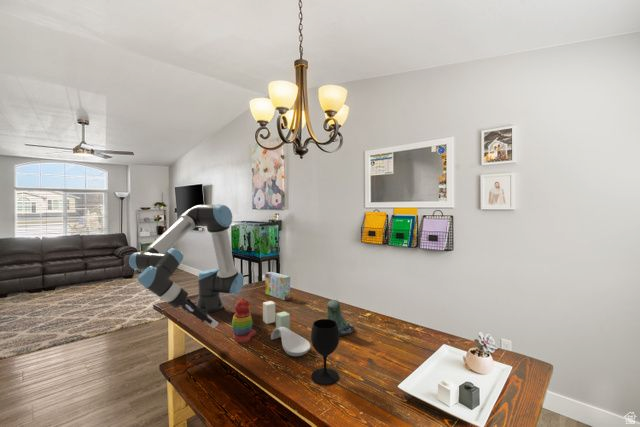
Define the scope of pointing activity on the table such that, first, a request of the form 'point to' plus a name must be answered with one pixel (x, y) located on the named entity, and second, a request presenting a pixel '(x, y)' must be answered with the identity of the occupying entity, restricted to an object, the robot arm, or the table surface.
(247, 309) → the stacking bear
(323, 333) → the wine glass
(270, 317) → the off-white block
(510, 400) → the table surface
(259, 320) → the table surface
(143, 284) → the robot arm
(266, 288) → the snack box
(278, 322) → the sage-green block
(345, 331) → the tree stump
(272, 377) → the table surface
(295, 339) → the spoon rest
